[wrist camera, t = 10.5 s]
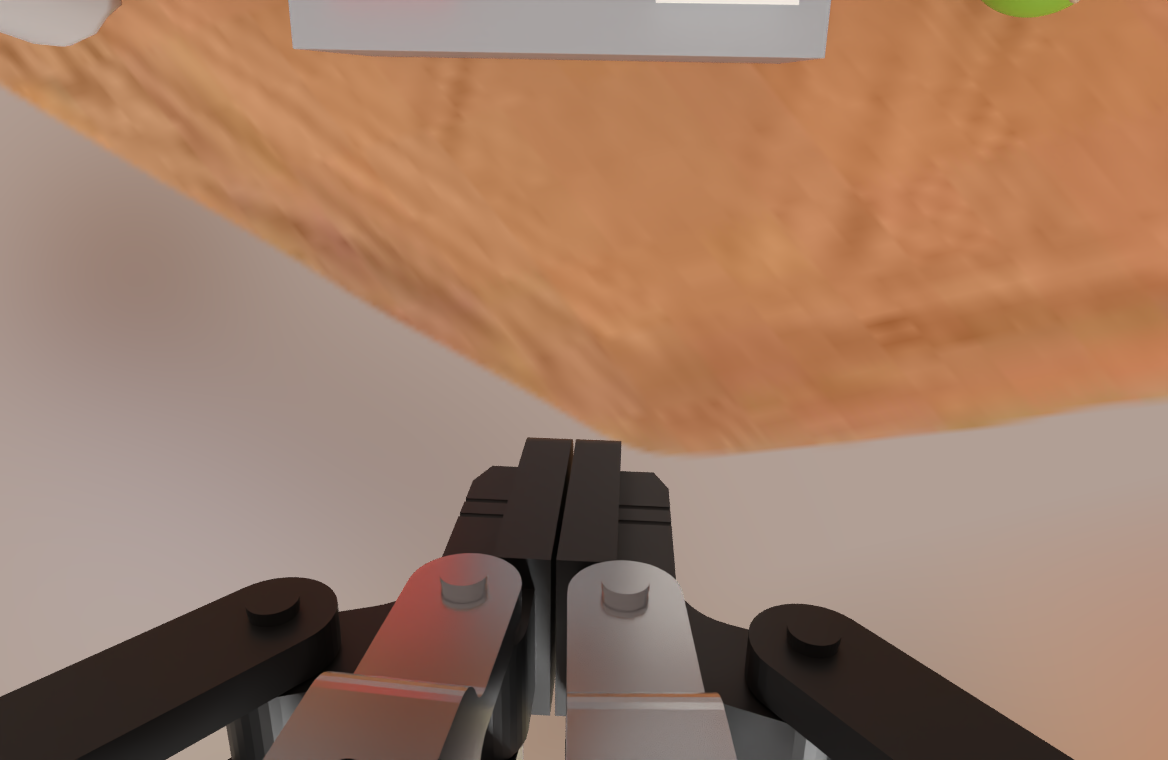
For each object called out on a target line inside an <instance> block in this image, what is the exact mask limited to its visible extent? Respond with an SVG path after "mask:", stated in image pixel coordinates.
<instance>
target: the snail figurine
mask: <svg viewBox="0 0 1168 760" xmlns="http://www.w3.org/2000/svg"><path fill="white" fill-rule="evenodd" d="M982 1H983V2H984V3H985V4H986V5H988V6H989V7H990V8H992V9H994V10H996V11H998V12H1000V13H1003V14H1006V15H1009V16H1015V17H1039V16H1044V15H1048V14H1052V13H1055V12H1058V11H1060V10H1063V9H1065V8H1067V7H1069V6H1071V5H1073V4H1074V3H1077V2H1079V1H1080V0H982Z"/></svg>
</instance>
